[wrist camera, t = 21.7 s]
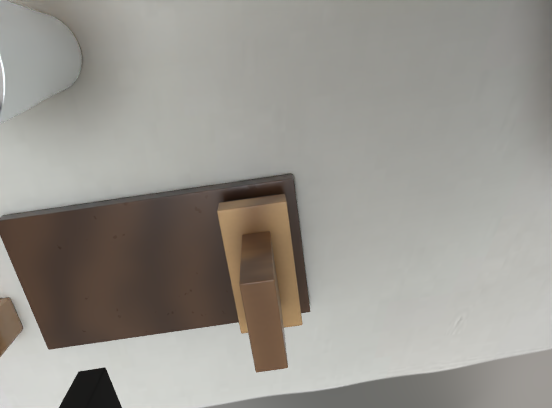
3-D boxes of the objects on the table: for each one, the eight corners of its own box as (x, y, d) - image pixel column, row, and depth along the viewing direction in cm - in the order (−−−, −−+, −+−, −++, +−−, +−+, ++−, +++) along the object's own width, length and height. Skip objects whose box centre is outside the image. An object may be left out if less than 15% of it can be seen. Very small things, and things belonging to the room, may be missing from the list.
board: (292, 173, 40) (293, 178, 38) (308, 303, 45) (310, 312, 44) (3, 215, 40) (-7, 221, 38) (54, 340, 45) (48, 349, 44)
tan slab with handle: (283, 187, 39) (295, 243, 28) (298, 304, 43) (313, 389, 33) (219, 196, 39) (207, 256, 28) (242, 312, 43) (238, 400, 33)
